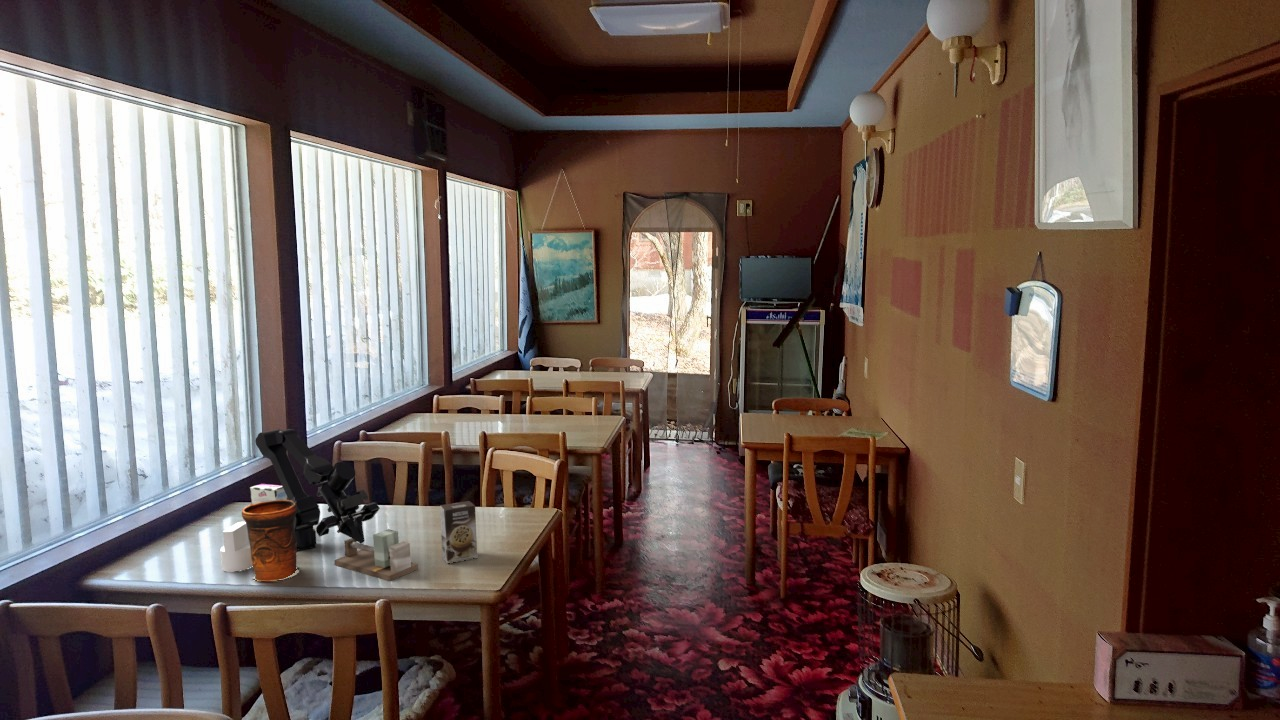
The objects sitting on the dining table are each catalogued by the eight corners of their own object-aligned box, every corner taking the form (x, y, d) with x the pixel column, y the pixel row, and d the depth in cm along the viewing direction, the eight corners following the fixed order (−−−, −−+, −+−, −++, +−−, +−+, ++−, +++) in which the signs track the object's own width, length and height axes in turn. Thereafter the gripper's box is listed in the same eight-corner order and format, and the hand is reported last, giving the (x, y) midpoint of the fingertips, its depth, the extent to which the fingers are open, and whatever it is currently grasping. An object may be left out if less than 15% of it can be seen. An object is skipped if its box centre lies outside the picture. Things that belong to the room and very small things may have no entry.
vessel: (237, 585, 221) (231, 514, 219) (258, 567, 235) (254, 499, 233) (290, 583, 222) (286, 512, 220) (309, 565, 236) (305, 498, 234)
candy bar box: (291, 534, 263) (287, 485, 260) (279, 539, 258) (275, 489, 256) (265, 531, 267) (261, 482, 265) (253, 536, 262) (248, 486, 260)
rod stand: (334, 565, 235) (332, 536, 234) (363, 554, 243) (361, 526, 242) (390, 581, 222) (388, 551, 221) (418, 569, 230) (416, 540, 229)
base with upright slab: (232, 560, 240) (228, 521, 239) (262, 560, 240) (258, 521, 239) (215, 572, 231) (211, 532, 230) (246, 572, 231) (242, 531, 230)
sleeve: (375, 565, 228) (373, 534, 227) (390, 559, 233) (388, 529, 232) (384, 568, 226) (382, 537, 225) (399, 561, 231) (397, 531, 229)
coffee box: (447, 564, 233) (444, 510, 231) (442, 557, 239) (438, 504, 237) (478, 558, 237) (475, 505, 235) (472, 551, 243) (469, 499, 241)
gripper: (319, 491, 227) (347, 536, 223) (374, 475, 243) (400, 517, 238) (304, 513, 233) (330, 558, 228) (358, 497, 248) (384, 538, 244)
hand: (362, 542), depth 234 cm, fingers closed
